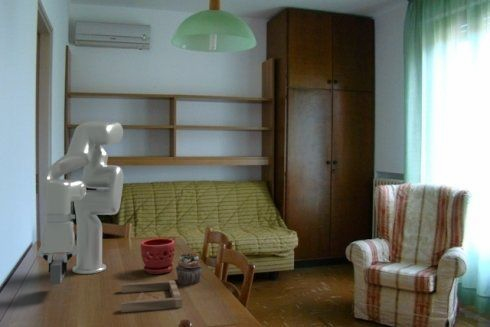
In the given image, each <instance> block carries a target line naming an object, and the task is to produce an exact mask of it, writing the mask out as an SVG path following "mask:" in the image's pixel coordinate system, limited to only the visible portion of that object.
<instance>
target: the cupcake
mask: <svg viewBox="0 0 490 327" xmlns="http://www.w3.org/2000/svg"><path fill="white" fill-rule="evenodd" d="M199 258H200V257H199V256H197V255H193V254H192V253H188V254H181V255H180V256H179V257H178V260H179V261H178V262H177V263H178V265H177V266H176V268H175V272H176V275H177V282H178V284H181V285H195V284H196V285H197V284H199V283H200V282H201V281H200V280H201V276H202V271H203V267H202V265H201V264H202V262H201V261H200V260H199Z"/></svg>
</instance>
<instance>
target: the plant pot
mask: <svg viewBox="0 0 490 327" xmlns="http://www.w3.org/2000/svg"><path fill="white" fill-rule="evenodd" d="M175 249H176V245H175V240H174V239H171V238H164V237H161V238H151V239H146V240H144V241H142V242H140V252H141V254H140V255H141V259H142V263H143V264H144V266H143V270H144V271H145V273H147V274H152V275H162V274H166V273H169V272H171V271H172V270H174V267H175V266H174V264H173V262H174V261H173V260H174V259H175Z"/></svg>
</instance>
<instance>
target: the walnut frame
mask: <svg viewBox="0 0 490 327" xmlns="http://www.w3.org/2000/svg"><path fill="white" fill-rule="evenodd" d="M154 291H169V292H170V293H169V294H170V295H171V297H167V298H166V297H165V298H159V299H151V300H138V301H136V300H128V301H121V302H120V312H121V313H131V312H143V311H154V310H167V309H168V310H169V309H177V308H178V309H180V308H183V298H182V295H181V294H180V291H179V288H178V286H177V283H176V281H175V279H174V280H173V279H172V280H159V281H146V282H143V281H142V282H129V283H121V284H120V294H126V293H142V292H144V293H145V292H154Z"/></svg>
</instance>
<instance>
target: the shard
mask: <svg viewBox="0 0 490 327" xmlns="http://www.w3.org/2000/svg"><path fill="white" fill-rule="evenodd" d="M151 299H160V297H157V296H155V295H152V294H149V293H147V292H145V291H144V292H140V294H139V295H138V297H137V298H136V300H135V301H138V300H151Z"/></svg>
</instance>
